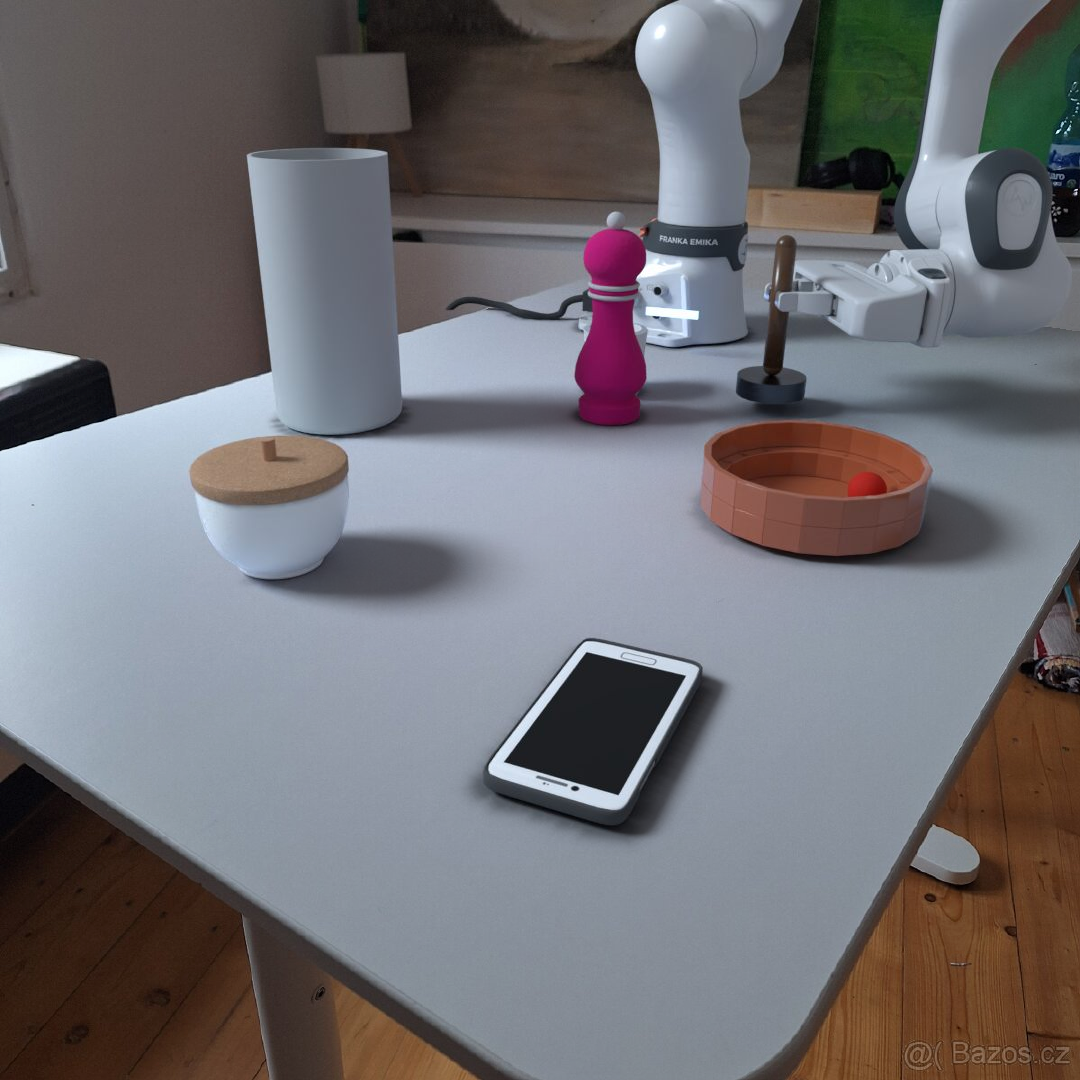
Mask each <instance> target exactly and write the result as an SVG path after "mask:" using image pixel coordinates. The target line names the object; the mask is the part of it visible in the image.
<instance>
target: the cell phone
mask: <svg viewBox="0 0 1080 1080" xmlns="http://www.w3.org/2000/svg"><path fill="white" fill-rule="evenodd" d="M703 672H704V671H703V665H701V663H700V662H698V661H695V660H693V659H689V658H685V657H681V656H677V655H672V654H668V653H664V652H660V651H655V650H651V649H646V648H642V647H638V646H634V645H628V644H625V643H621V642H616V641H612V640H607V639H603V638H602V639H601V638H597V637H587V638H584V639H582V641H580V642H579V643H578V644H577V645H576V646H575V648H574V649H573V651H572V652H571V653H570V654H569V656H568V657H567V658H566V659H565V661H564V662H563V663H562V665H561V666H560V667H559V668H558V670H557V671H556V672H555V673H554V675H553V676H552V677H551V679H550V680H549V681H548V683H546V685H545V686H544V688H542V690H541V691H540V692H539V694H538V695H537V696H536V697H535V699H534V700H533V702H531V704H530V706H529V707H528V708H527V709H526V711H525V712H524V713H523V714H522V715H521V717H520V718H519V719H518V721H517V722H516V723H515V724H514V726H513V727H512V729H510V731H509V732H508V733H507V735H506V736H505V737H504V739H503V740H502V741H501V742H500V744H499V745H498V747H496V749H495V750H494V752H493V753H492V754H491V755H490V757H489V758H488V759H487V762H486V764H484V767H483V771H482V782H483V785H484V786H485V787H486V788H487V789H489V790H491V791H492V792H496V793H498V794H500V795H504V796H507V797H510V798H513V799H517V800H520V801H523V802H527V803H530V804H533V805H537V806H540V807H543V808H547V809H550V810H553V811H556V812H560V813H563V814H567V815H570V816H573V817H576V818H579V819H583V820H586V821H589V822H593V823H597V824H601V825H605V826H619V825H621V824H622V823H623V822H625V821H626V819H627V818H628V817H629V816H630V815H631V813H632V811H633V810H634V808H635V806H636V804H637V803H638V801H639V799H640V797H641V795H640V793H641V790H642V788H643V787H644V784H645V783H646V781H647V779H648V777H649V775H650V774H651V772H652V770H653V768H655V767H657V765H658V763H659V761H660V759H661V758H662V755H663V753H664V752H665V750H666V749H667V746H668V745H669V743H670V741H671V739H672V737H673V736H674V733H675V731H676V730H677V728H678V726H679V723H680V722H681V721H682V718H683V717H684V715H685V713H686V711H687V710H688V707H689V705H690V704H691V702H692V701H693V698H694V696H695V694H696V693H697V691H698V690H699V687H700V685H701V683H702V678H703Z"/></svg>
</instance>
